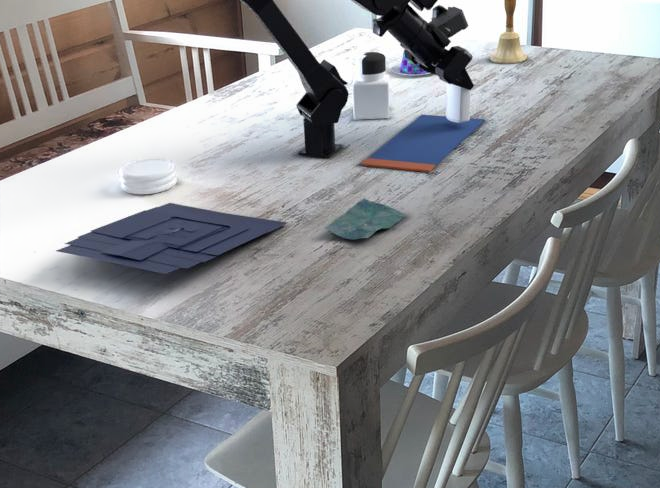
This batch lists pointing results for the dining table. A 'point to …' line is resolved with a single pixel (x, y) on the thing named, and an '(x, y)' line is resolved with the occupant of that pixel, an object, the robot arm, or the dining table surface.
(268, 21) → the robot arm
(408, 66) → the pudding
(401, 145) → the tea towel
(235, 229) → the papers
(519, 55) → the hand bell
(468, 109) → the eye dropper bottle
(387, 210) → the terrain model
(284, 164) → the dining table surface
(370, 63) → the medicine bottle
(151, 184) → the white round disc stack
